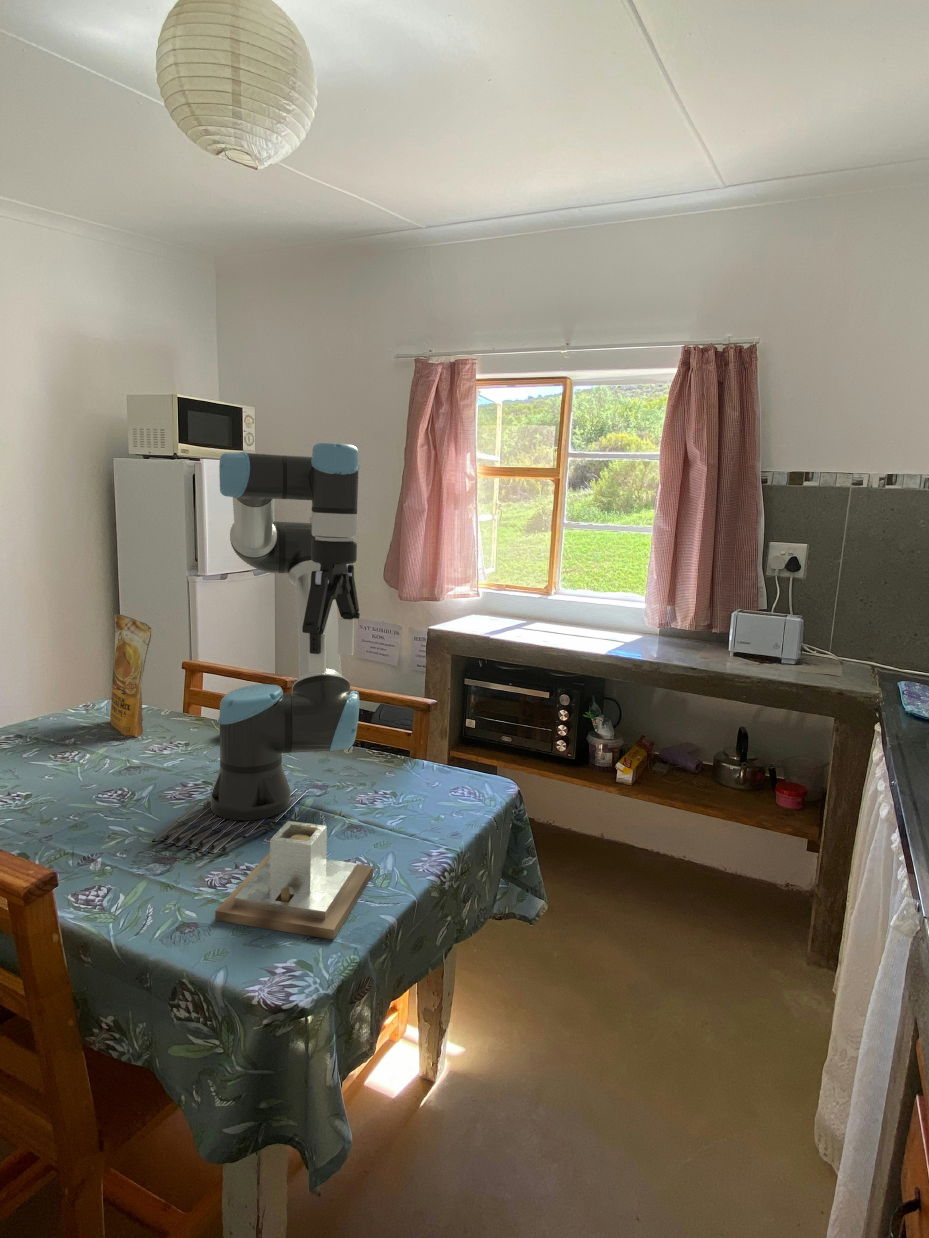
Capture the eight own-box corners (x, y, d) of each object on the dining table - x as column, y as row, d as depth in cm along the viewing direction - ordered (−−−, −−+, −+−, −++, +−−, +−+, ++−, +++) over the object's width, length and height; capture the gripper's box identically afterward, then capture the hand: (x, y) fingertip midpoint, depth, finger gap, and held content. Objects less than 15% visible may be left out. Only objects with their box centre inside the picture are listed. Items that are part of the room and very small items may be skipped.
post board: (215, 920, 105) (214, 859, 103) (270, 859, 122) (270, 806, 120) (333, 939, 102) (334, 877, 100) (372, 874, 119) (374, 820, 117)
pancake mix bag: (130, 715, 191) (127, 611, 186) (157, 736, 178) (154, 624, 173) (103, 720, 187) (99, 613, 182) (128, 741, 173) (124, 626, 168)
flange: (275, 858, 120) (275, 807, 118) (356, 870, 117) (358, 818, 116) (234, 905, 106) (233, 848, 104) (325, 919, 104) (326, 861, 102)
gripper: (339, 533, 133) (337, 646, 137) (280, 542, 109) (280, 678, 112) (378, 536, 132) (375, 649, 135) (328, 545, 107) (326, 683, 111)
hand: (332, 663), depth 124 cm, fingers open, 13 cm apart
